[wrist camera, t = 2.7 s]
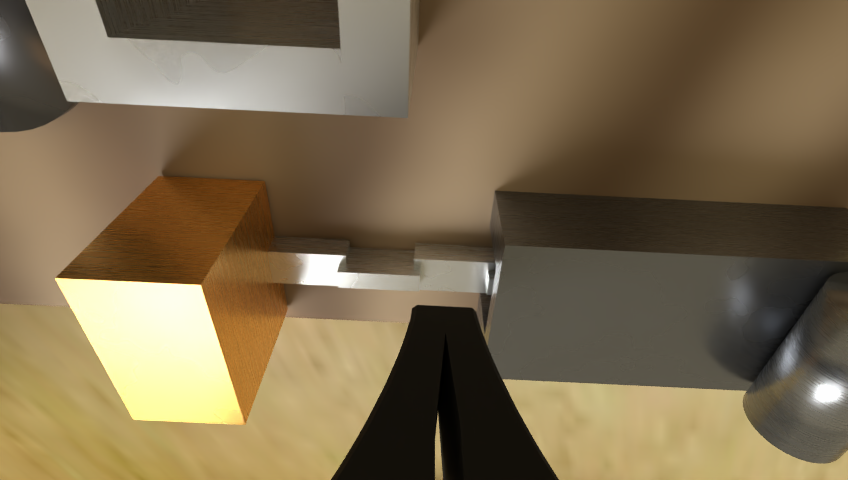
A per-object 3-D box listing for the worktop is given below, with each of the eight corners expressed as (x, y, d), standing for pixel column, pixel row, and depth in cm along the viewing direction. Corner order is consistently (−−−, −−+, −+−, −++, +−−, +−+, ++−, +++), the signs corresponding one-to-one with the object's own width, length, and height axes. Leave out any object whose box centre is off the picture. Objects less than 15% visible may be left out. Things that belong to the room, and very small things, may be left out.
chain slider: (200, 305, 16) (133, 419, 13) (158, 176, 13) (55, 277, 10) (736, 330, 16) (819, 452, 13) (813, 207, 13) (949, 321, 10)
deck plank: (-46, 285, 17) (-65, 300, 17) (-578, -444, 8) (-670, -475, 7) (772, 324, 17) (785, 341, 17) (1231, -350, 8) (1303, -373, 7)
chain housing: (476, 315, 16) (488, 453, 12) (494, 190, 13) (519, 317, 9) (764, 329, 16) (870, 472, 12) (846, 207, 13) (1023, 341, 9)
